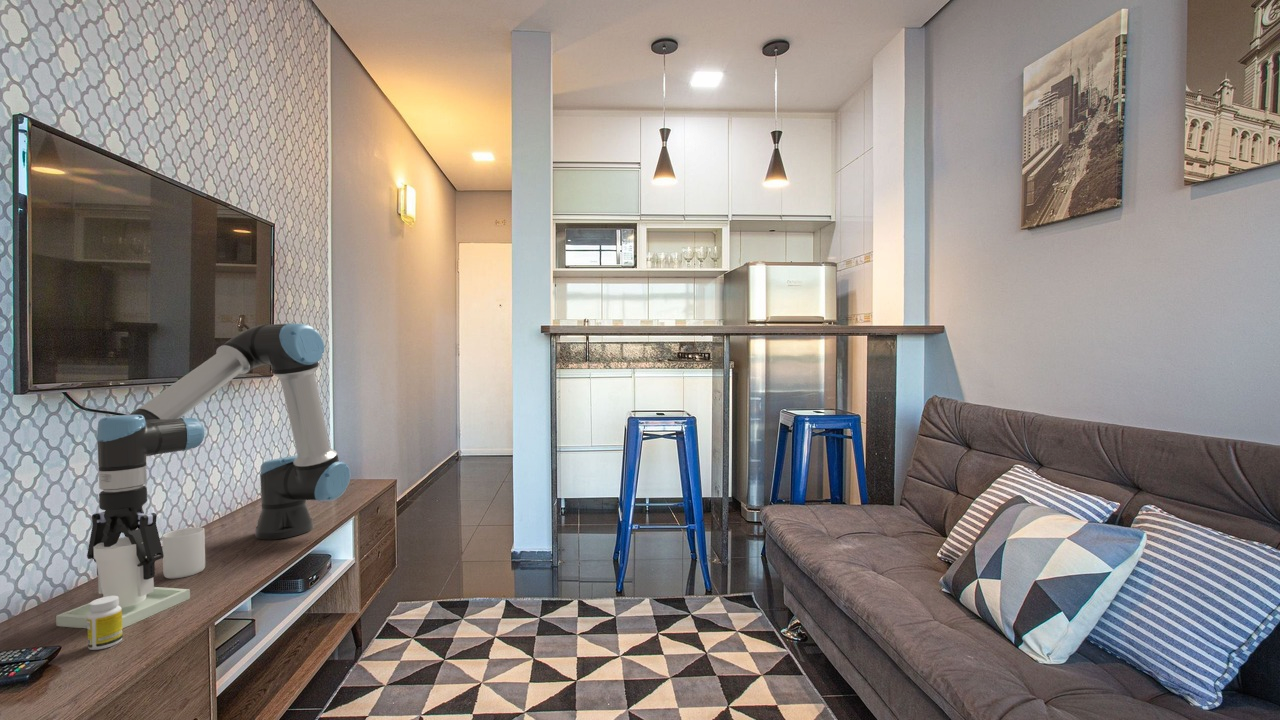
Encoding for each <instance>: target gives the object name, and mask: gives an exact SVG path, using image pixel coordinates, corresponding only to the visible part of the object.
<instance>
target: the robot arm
mask: <svg viewBox="0 0 1280 720" xmlns="http://www.w3.org/2000/svg"><path fill="white" fill-rule="evenodd" d="M323 353H325V344H324V339H323V338H322V335H321V333H319V331H318V330H317V329H316V328H313V326H312V325H308V324H307V323H295V322H293V323H292V322H291V323H277V324H275V323H274V324H259V325H256V326H252V327H250V328H248V329H246V330H244V331H241V332H240V333H239V334H237V335H235V336H234V337H232V338H230V339H228V341H226V342H225V343H222V344H221V345H220V346H219V347H217V348H216V351H215V354H213V356H211V357H209V358H208V359H207V360H206V361H204V362H202V363H201V364H200V365H198V366H197V367H195V368H194V369H193V370H191V371H189V372H188V373H187V374H186V375H184V376H182V377H181V378H180V379H179V380H177V381H175V382H174V383H173V384H171V385H170V386H168V387H167V388H165V389H164V390H162V391H161V392H160V393H158V394H157V395H155V396H154V397H152V398H151V399H150V400H148V401H147V402H145V403H144V404H142V405H141V406H140V407H138V408H137V409H136V410H134V411H132V412H131V413H129V414H122V415H120V414H119V415H111V416H104V417H102V418H100V419H99V421H98V422H97V428H96V429H97V431H96V433H97V434H96V441H97V444H96V445H97V463H98V466H97V467H98V486H99V487H98V489H99V490H101V491H100V492H99V493H98V504H99V506H98V507H99V509H100V510H101V512H97V513H93V514H92V515H91V520H92V528H91V532H90V537H89V543H88V549H87V554H86V558H87V560H91V559H92V560H93V561H94V563H96V560H95V559H94V548H93V547H94V546H96V545H97V544H99V543H104V547H110V546H112V545H114V544H116V543H117V541H118V539H119V538H120V537H121V534H123V535H124V537H128V538H129V540H130V542H131V544H132V545H133V544H136V555H137V557H138V559H139V561H140V563H139V564H138V565H137V588H138V597H141V596H144V595H146V594H149V593H151V592H153V591H154V587H155V582H154V581H155V580H154V578H155V575H156V572H155V571H156V569H155V567H156V566H155V564H156V563H155V562H156V561H158V560H161V559H162V560H163V557H164V555H163V545H162V543H161V542H162V541H161V539H160V535H159V529H158V526H157V513H155V512H151V513H145V512H144V510H143V506H144V505H145V504H146V503H148V487H147V486H145V485H146V484H147V483H148V476H147V474H148V473H147V457H151V456H155V455H163V454H168V453H175V452H185V451H187V450H192V449H195V448H197V447H198V448H199V446H200V445H201V444H202V443H203V441H204V439H205V428H204V426H203V424H202V422H201V421H200V420H199V419H197V418H195V417H183V416H185V415H186V414H188V413H189V412H190V411H192V410H193V409H195V408H196V407H197V406H199V405H200V404H201V403H203V402H204V401H205V400H207V398H209V397H211V396H212V395H213V394H214V393H216V391H218V390H219V389H221V388H222V387H223V386H225V385H226V384H227V383H229V382H230V381H231V380H233V379H234V378H235V377H237V376H238V375H245V374H247V373H249V372H250V371H251V370H252V369H255V368H258V367H260V366H266V365H269V366H270V367H271V368H270V369H271V371H272V372H271V373H272V375H273V376H275V377H276V378H279V379H280V382H281V383H280V384H281V387H282V392H283V396H284V401H285V406H286V409H287V414H288V419H289V423H290V427H291V431H292V436H293V440H294V445H295V449H296V453H297V454H296V455H292V456H291V455H290V456H285V457H284V456H283V457H279V458H274V459H269V460H267V461H264V462H262V464H261V466H260V474H259V477H260V496H261V497H260V500H261V501H260V502H261V510H260V513H259V517H258V520H257V524H256V527H255V531H254V537H255V538H257V540H259V539H260V540H278V539H286V538H292V537H295V536H300V535H304V534H305V533H308V532H310V531H312V529H314V520H313V518H312V517H311V514H310V512H309V509H308V505H307V501H318V502H327V501H328V502H331V501H335V500H337V499H339V498H340V497H341V496H343V494H344V493H345V492H346V490H347V488H348V486H349V484H350V481H351V469H350V467H349V466H348V464H346V462H344V461H339V455H338V452H337V450H335V449H333V448H331V444H330V442H329V441H330V440H329V437H328V432H327V427H326V421H325V416H324V413H323V407H322V404H321V398H320V393H319V389H318V384H317V379H316V375H315V373H316V371H317V370H318V368H319V366H320V365H319V364H320V363H319V361H320V360H321V359H322V358H323V356H324V355H323ZM146 556H147V558H146ZM96 575H97V583H98V585H97V586H98V590H97V591H98V595H99V594H100V595H103V592H102V587H101V583H100V578H99V573H98V569H97V568H96Z"/></svg>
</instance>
